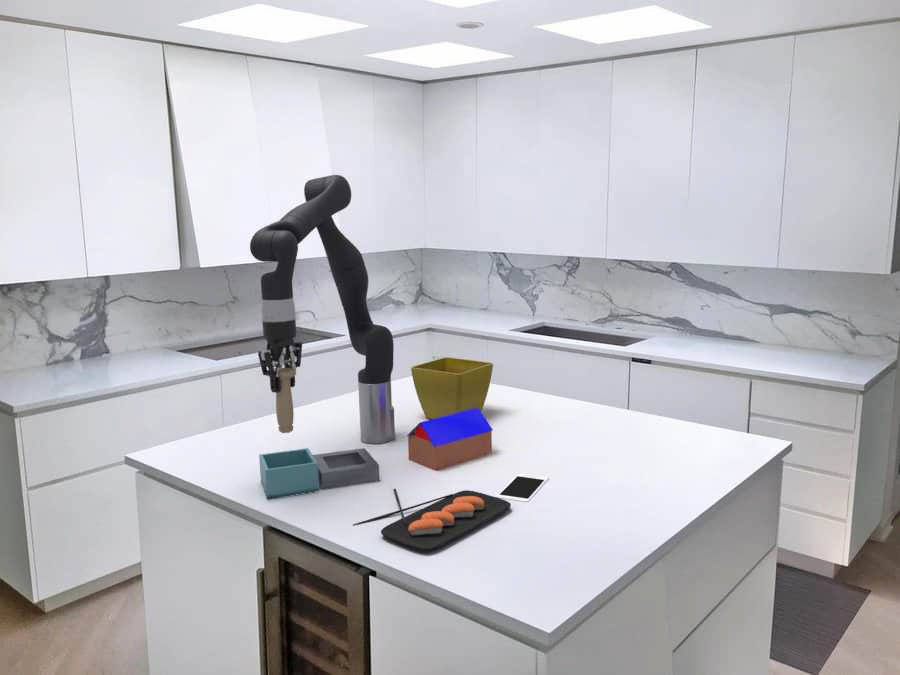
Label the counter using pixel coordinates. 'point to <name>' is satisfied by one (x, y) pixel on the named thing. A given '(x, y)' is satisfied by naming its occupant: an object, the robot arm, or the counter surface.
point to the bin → (288, 473)
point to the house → (450, 439)
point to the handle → (285, 401)
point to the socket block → (346, 468)
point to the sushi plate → (442, 519)
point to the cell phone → (522, 487)
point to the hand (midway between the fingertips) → (283, 389)
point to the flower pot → (451, 385)
